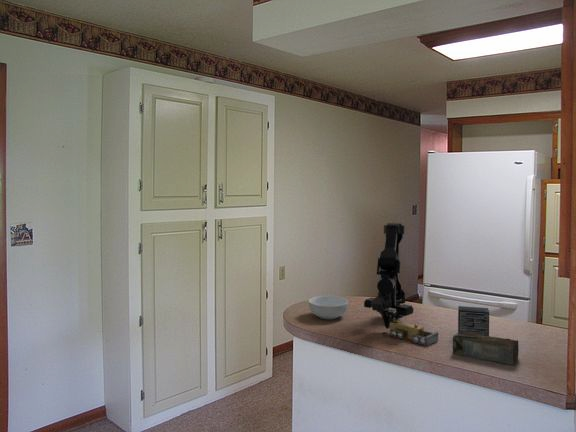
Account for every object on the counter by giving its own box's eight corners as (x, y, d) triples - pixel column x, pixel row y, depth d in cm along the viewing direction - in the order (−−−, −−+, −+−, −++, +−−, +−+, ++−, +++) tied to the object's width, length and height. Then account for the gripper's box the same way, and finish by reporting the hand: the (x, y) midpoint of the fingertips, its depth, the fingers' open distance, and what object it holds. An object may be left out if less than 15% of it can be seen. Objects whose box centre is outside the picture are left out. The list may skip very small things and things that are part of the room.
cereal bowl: (300, 316, 199) (300, 300, 199) (327, 309, 211) (327, 293, 210) (329, 325, 187) (329, 307, 186) (356, 316, 198) (356, 300, 197)
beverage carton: (458, 347, 162) (458, 328, 161) (519, 358, 151) (519, 339, 150) (451, 354, 155) (452, 334, 155) (515, 367, 144) (515, 346, 144)
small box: (487, 335, 174) (488, 307, 173) (489, 340, 167) (490, 312, 167) (457, 332, 177) (458, 305, 176) (458, 337, 171) (458, 309, 170)
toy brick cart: (402, 331, 179) (402, 323, 178) (439, 340, 168) (439, 332, 168) (389, 336, 172) (389, 328, 172) (427, 346, 162) (427, 338, 162)
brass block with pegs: (394, 331, 178) (394, 318, 178) (423, 339, 170) (423, 324, 169) (389, 333, 176) (389, 320, 175) (418, 341, 167) (418, 326, 167)
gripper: (355, 287, 178) (355, 327, 179) (398, 296, 165) (397, 339, 166) (372, 283, 186) (372, 321, 187) (414, 290, 172) (413, 332, 174)
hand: (387, 328), depth 178 cm, fingers closed
